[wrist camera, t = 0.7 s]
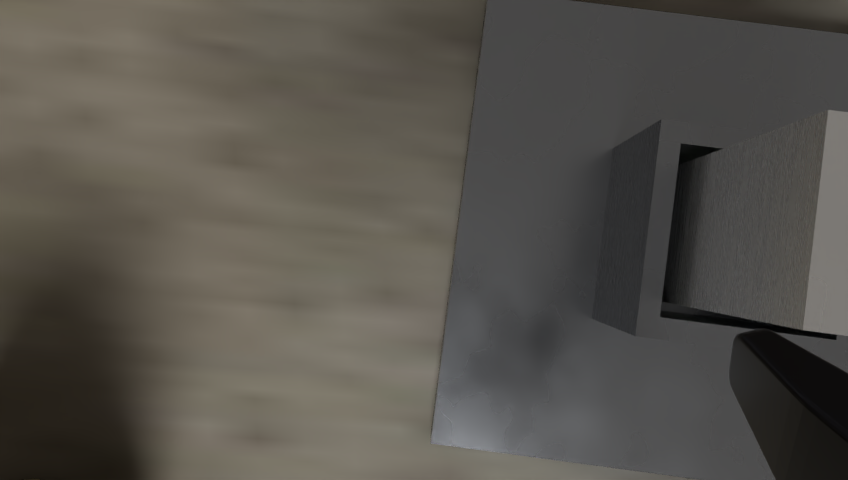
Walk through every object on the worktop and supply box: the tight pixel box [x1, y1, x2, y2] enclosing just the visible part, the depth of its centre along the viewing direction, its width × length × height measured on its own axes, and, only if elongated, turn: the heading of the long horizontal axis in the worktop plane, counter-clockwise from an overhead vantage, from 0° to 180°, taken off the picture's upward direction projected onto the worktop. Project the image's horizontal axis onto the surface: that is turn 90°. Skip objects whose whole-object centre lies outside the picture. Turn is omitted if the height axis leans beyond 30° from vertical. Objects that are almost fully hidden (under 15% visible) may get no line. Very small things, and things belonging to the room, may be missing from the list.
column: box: [662, 110, 848, 336], centre depth 17 cm, size 4×4×11 cm
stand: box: [431, 0, 848, 480], centre depth 20 cm, size 16×16×6 cm
